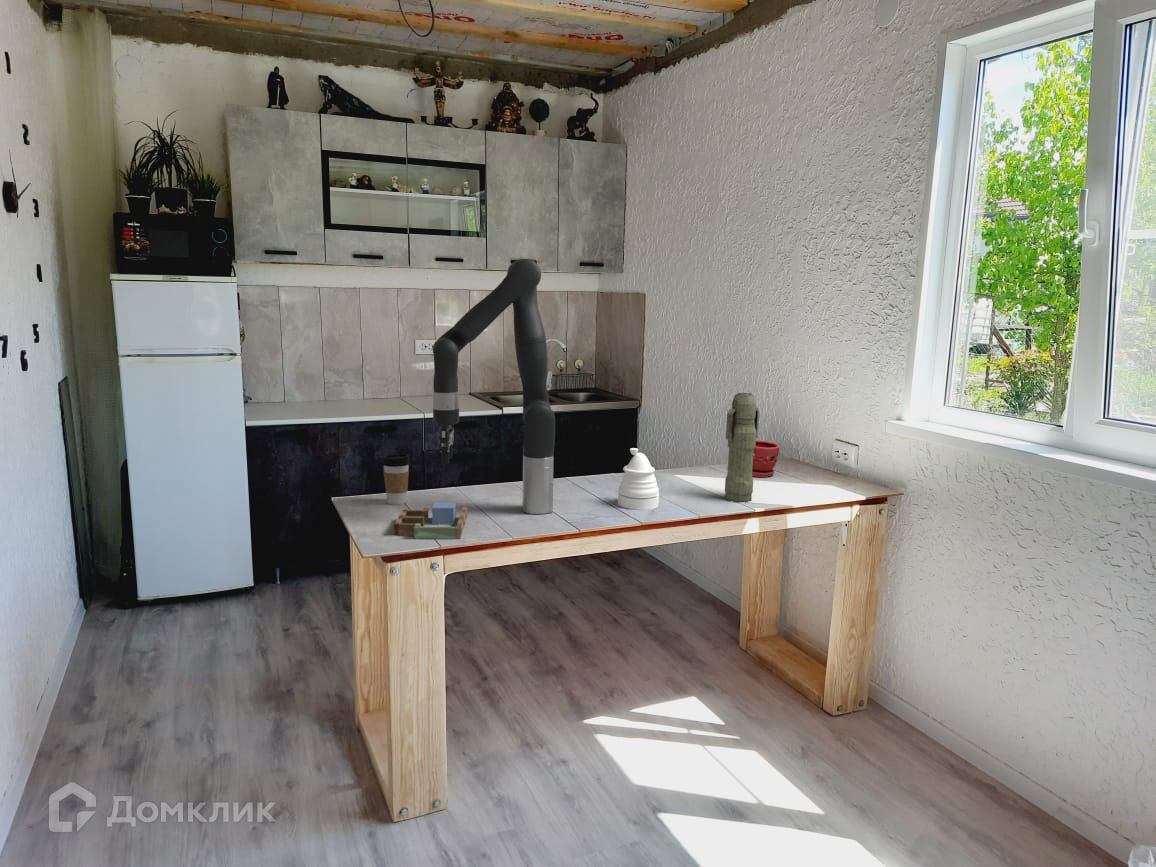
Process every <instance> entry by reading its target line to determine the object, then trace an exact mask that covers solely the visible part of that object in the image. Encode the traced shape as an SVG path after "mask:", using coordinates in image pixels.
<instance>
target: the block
mask: <svg viewBox="0 0 1156 867" xmlns="http://www.w3.org/2000/svg"><path fill="white" fill-rule="evenodd" d="M456 508H457V507H456V502H455V501H454V502H453V501H452V502H450V501H449V502H443V501H441V502H439V501H435V502H434V504H433V505H432V507H431V513H432V514H431V518H432V519H431V524H432V525H434V526H436V525H437V526H438V525H439V524H440V525H441V524H442V525H444V526H445V525H455V522H456V519H457V518H456V517H457V516H456V512H457V511H456Z"/></svg>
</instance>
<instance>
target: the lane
mask: <svg viewBox="0 0 1156 867" xmlns="http://www.w3.org/2000/svg"><path fill="white" fill-rule="evenodd" d="M429 517H430V516H429V507H427V506H426V507H423V508H422V509H403V510H402V511H401V512H400V514H399V515H398V517H397V519H396V521H395V523H394V525H393V535H394V536H413V539H420V540H421V539H423V540H424V539H426V540H427V539H428V540H431V539H432V540H435V539H436V540H437V539H438V540H440V539H441V540H442V539H443V540H447V539H448V540H452V539H453V540H461V538H462V535H463V532H464V529H465V525H466V522H467V518H468V507H462V509H461V511H460V515H459V517H458V521H457V523H456V526H425V522H428V520H429Z"/></svg>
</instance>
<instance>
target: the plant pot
mask: <svg viewBox="0 0 1156 867" xmlns="http://www.w3.org/2000/svg"><path fill="white" fill-rule="evenodd" d="M779 452H780V445H778V443H774V442H769V441H764V440H756V444H755V449H754V452H753V467H752V477H754V476H755V478H767V477H768V476H769V477H772V476H773V475H774V473H775V470H774V469H775V466H776V464H777V462H778V458H779ZM769 477H768V478H769Z"/></svg>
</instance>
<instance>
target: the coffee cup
mask: <svg viewBox="0 0 1156 867" xmlns="http://www.w3.org/2000/svg"><path fill="white" fill-rule="evenodd" d="M410 462H411V460H410V454H408V453H396V454H394V453H393V454H387V455H384V456H383V457H382V462H381V463H382V464H381V465H382V466H383V479H384V485H385V486H384V487H385V493H386V495H385V496H386V503H387V504H389V505H392V506H393V505H395V506H400V505H404V504H406V503H407V501H408V500H407V499H408V498H407V497H408V486H409V474H410V470H409V466H410V464H411V463H410Z"/></svg>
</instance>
